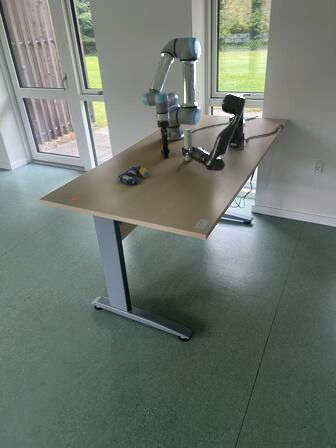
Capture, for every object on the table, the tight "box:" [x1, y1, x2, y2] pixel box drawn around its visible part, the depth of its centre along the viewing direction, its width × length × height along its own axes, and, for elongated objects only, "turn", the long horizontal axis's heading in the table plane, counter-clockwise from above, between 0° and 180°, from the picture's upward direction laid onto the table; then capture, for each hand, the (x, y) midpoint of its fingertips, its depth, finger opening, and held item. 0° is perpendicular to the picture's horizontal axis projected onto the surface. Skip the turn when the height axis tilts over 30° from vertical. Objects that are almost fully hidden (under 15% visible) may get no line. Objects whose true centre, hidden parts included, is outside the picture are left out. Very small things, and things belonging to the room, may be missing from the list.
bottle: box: [183, 127, 194, 162], centre depth 203 cm, size 5×5×19 cm
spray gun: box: [116, 164, 150, 186], centre depth 188 cm, size 21×4×15 cm
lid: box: [160, 148, 171, 155], centre depth 214 cm, size 6×6×2 cm
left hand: (165, 156), depth 216 cm, fingers closed on lid, 6 cm apart
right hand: (186, 148), depth 207 cm, fingers closed on bottle, 4 cm apart
